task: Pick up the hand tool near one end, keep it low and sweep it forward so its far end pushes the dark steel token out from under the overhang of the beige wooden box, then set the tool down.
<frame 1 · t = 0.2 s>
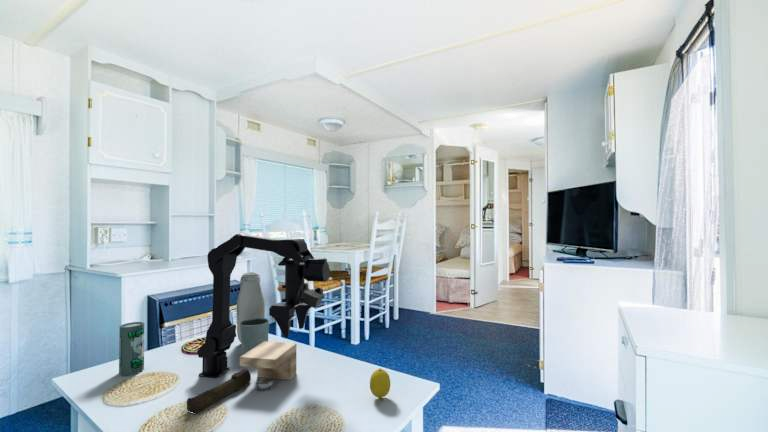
hand: (294, 332, 102), 14 cm above the table, tool pointing down, fingers open, 9 cm apart
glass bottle: (250, 344, 134), on the table
steel token: (264, 388, 97), on the table
beige wooden box: (273, 378, 103), on the table
can: (131, 372, 109), on the table
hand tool: (221, 397, 93), on the table
grey green cup: (254, 355, 122), on the table
lemon: (380, 399, 91), on the table
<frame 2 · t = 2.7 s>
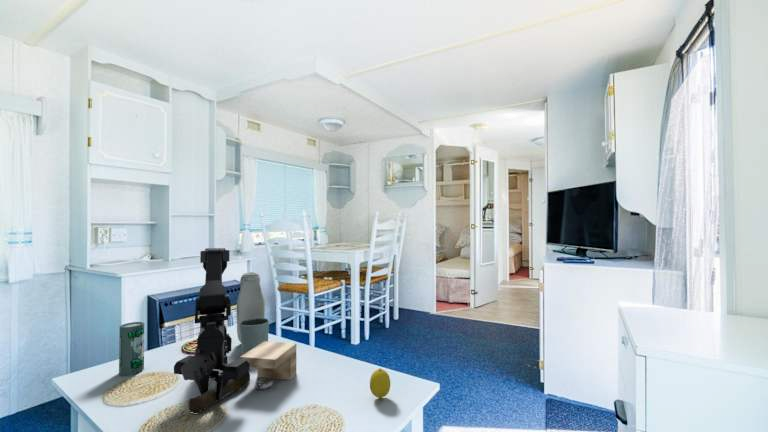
hand: (211, 399, 89), 1 cm above the table, tool pointing down, fingers closed on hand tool, 4 cm apart
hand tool: (222, 397, 93), on the table, touching gripper
everything else where it was.
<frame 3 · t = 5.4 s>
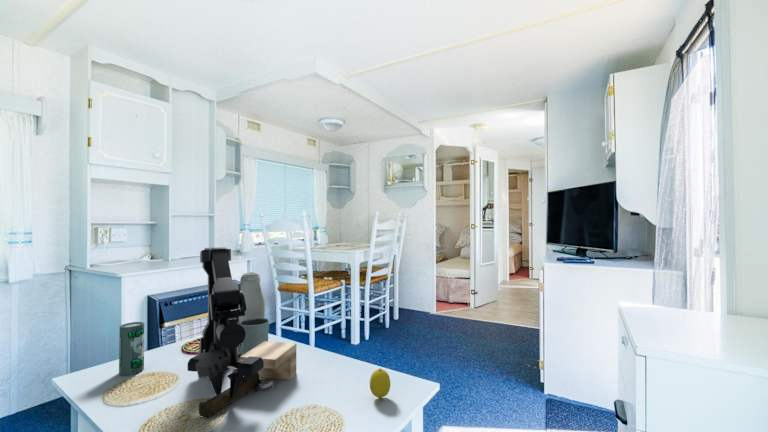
hand: (225, 397, 88), 2 cm above the table, tool pointing down, fingers open, 4 cm apart
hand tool: (232, 401, 91), on the table, touching gripper
everything else where it was.
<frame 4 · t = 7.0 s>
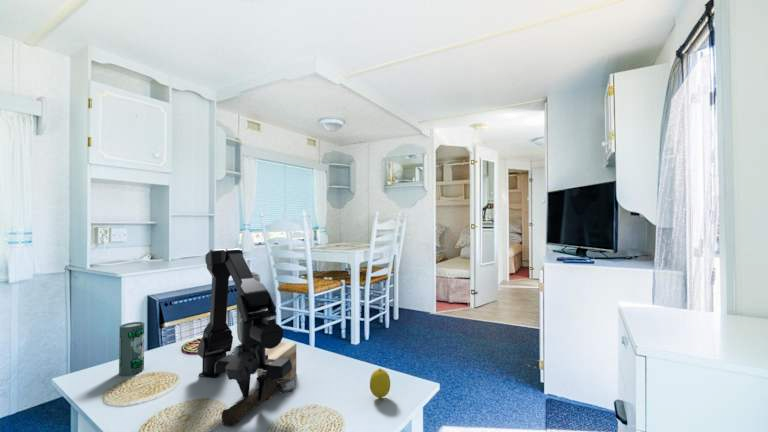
hand: (253, 399, 86), 2 cm above the table, tool pointing down, fingers open, 4 cm apart
steel token: (286, 389, 96), on the table
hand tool: (253, 407, 88), on the table, touching gripper
everything else where it was.
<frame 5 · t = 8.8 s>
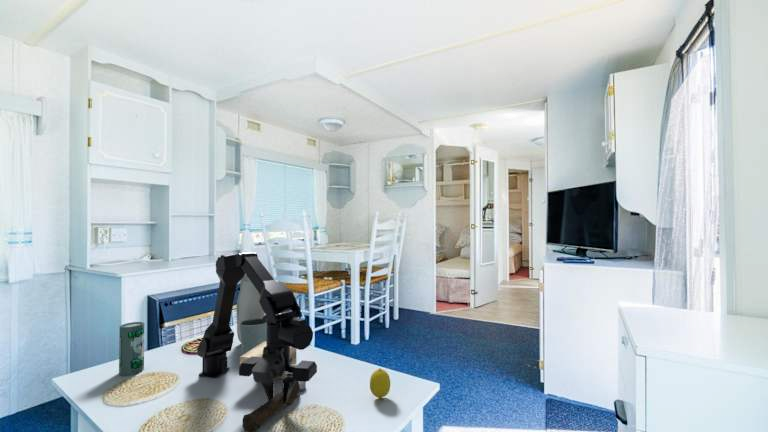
hand: (278, 402, 85), 2 cm above the table, tool pointing down, fingers open, 4 cm apart
steel token: (297, 389, 97), on the table
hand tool: (274, 412, 85), on the table, touching gripper
everything else where it was.
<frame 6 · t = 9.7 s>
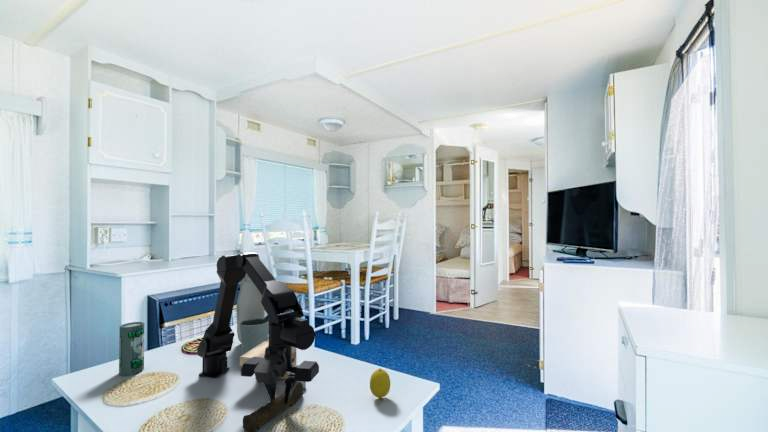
hand: (280, 402, 85), 2 cm above the table, tool pointing down, fingers open, 3 cm apart
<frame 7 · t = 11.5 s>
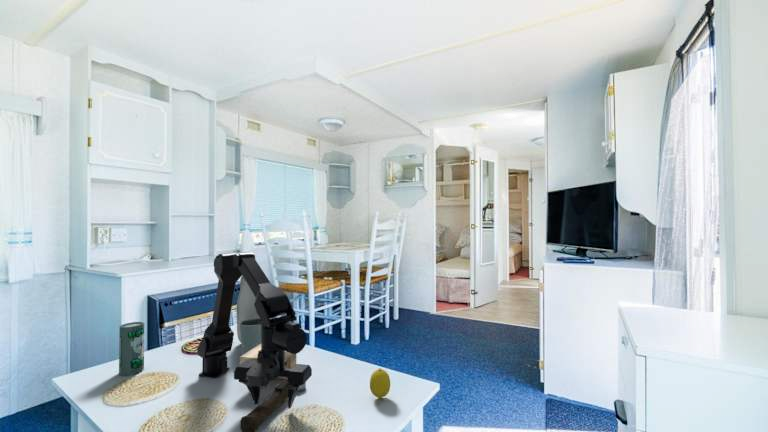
hand: (273, 406, 86), 1 cm above the table, tool pointing down, fingers open, 9 cm apart
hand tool: (268, 412, 85), on the table
everything else where it was.
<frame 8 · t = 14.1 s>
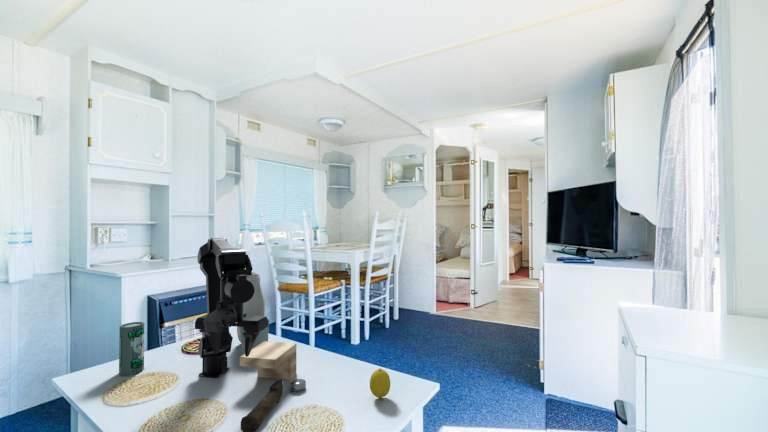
hand: (231, 354, 91), 12 cm above the table, tool pointing down, fingers open, 9 cm apart
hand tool: (265, 412, 85), on the table
everything else where it was.
at the end: steel token inside the target area (6.2 cm from its centre), on the table; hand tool moved 16.3 cm from its start; the gripper is holding nothing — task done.
